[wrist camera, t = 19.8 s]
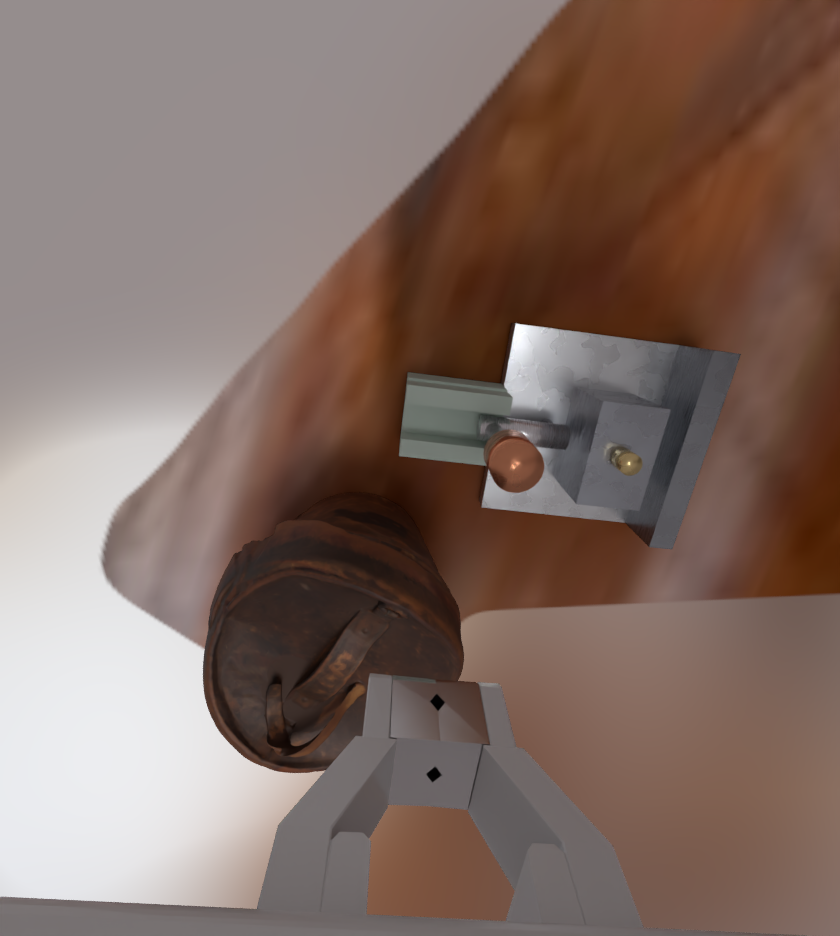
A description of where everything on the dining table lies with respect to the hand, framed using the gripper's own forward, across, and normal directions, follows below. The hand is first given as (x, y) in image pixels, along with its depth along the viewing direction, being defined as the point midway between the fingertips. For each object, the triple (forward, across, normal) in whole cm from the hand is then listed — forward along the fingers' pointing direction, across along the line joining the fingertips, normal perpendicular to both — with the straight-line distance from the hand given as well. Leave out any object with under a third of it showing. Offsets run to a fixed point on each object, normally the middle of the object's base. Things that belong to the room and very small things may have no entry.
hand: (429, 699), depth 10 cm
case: (+31, +4, +15) cm, 35 cm away
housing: (+30, -15, 0) cm, 33 cm away
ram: (+28, -8, 0) cm, 29 cm away
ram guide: (+31, -3, 0) cm, 31 cm away
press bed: (+31, -15, 0) cm, 35 cm away
